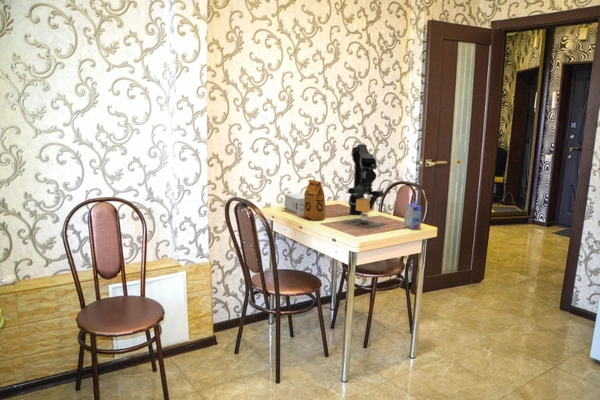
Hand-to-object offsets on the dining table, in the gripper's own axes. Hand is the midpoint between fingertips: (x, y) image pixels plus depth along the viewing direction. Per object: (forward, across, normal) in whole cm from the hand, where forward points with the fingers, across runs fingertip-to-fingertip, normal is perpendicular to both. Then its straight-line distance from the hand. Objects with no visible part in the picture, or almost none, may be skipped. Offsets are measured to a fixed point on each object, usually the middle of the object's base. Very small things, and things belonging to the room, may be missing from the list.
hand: (364, 208), depth 239 cm
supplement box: (+10, -51, +10) cm, 53 cm away
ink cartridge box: (+10, +21, +15) cm, 28 cm away
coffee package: (+10, -30, -4) cm, 32 cm away
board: (+10, 0, 0) cm, 10 cm away
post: (+8, 0, 0) cm, 9 cm away
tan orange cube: (+1, 0, 0) cm, 1 cm away
